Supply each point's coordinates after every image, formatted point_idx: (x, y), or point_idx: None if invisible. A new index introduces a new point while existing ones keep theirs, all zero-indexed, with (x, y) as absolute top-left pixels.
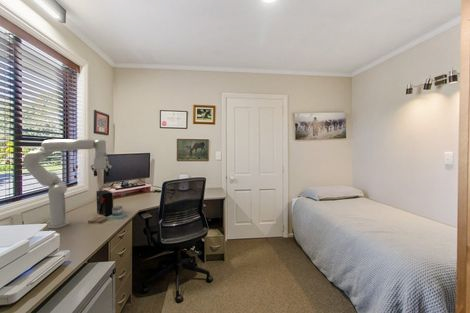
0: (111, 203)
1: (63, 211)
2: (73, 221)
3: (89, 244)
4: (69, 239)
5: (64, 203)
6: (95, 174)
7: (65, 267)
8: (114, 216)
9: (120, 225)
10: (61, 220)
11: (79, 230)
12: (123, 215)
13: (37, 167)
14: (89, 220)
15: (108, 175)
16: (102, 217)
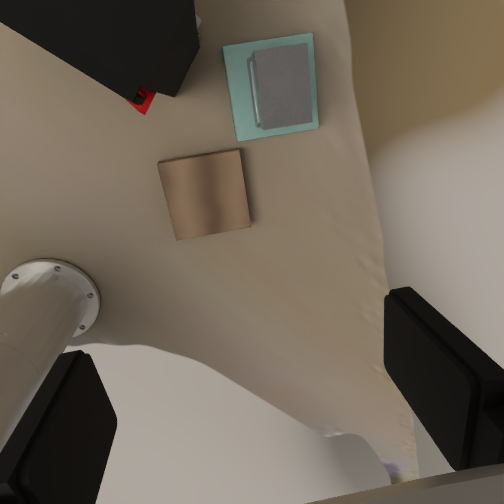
0: (192, 36)
1: (57, 344)
2: (58, 227)
3: (372, 397)
4: (271, 389)
5: (26, 371)
6: (99, 442)
7: (400, 481)
8: (276, 130)
9: (377, 224)
10: (77, 323)
11: (228, 320)
12: (314, 80)
13: None
14: (181, 234)
15: (411, 298)
16: (212, 167)
